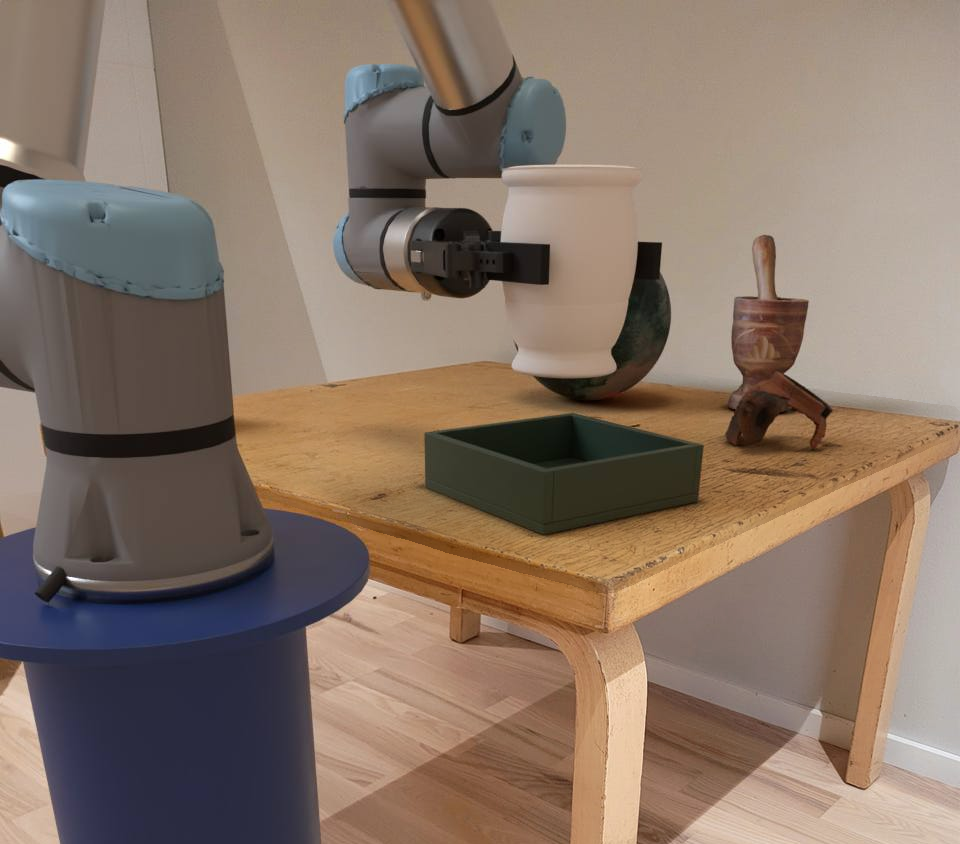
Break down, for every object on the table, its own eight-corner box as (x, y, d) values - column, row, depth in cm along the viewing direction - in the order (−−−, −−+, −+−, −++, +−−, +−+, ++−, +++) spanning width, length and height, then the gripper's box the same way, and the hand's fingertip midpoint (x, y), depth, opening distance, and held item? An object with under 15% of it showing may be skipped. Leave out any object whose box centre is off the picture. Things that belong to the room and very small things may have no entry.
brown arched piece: (736, 434, 108) (783, 370, 104) (801, 484, 104) (852, 420, 100) (694, 422, 98) (745, 351, 94) (765, 477, 94) (820, 405, 91)
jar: (480, 377, 75) (481, 164, 69) (522, 360, 84) (526, 170, 78) (612, 385, 72) (625, 163, 66) (641, 366, 81) (655, 169, 75)
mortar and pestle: (696, 400, 125) (713, 234, 117) (753, 397, 127) (773, 234, 119) (747, 416, 115) (769, 236, 107) (808, 413, 117) (833, 236, 109)
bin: (543, 535, 71) (545, 471, 69) (424, 487, 84) (423, 432, 82) (698, 501, 80) (704, 444, 78) (570, 462, 92) (572, 412, 91)
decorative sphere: (679, 413, 116) (696, 235, 108) (515, 413, 115) (519, 233, 107) (646, 387, 134) (659, 232, 126) (504, 386, 134) (507, 231, 126)
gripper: (538, 291, 96) (705, 308, 79) (332, 301, 83) (477, 324, 67) (541, 208, 93) (714, 208, 76) (326, 206, 80) (478, 206, 64)
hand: (603, 262), depth 71 cm, fingers closed on jar, 10 cm apart
